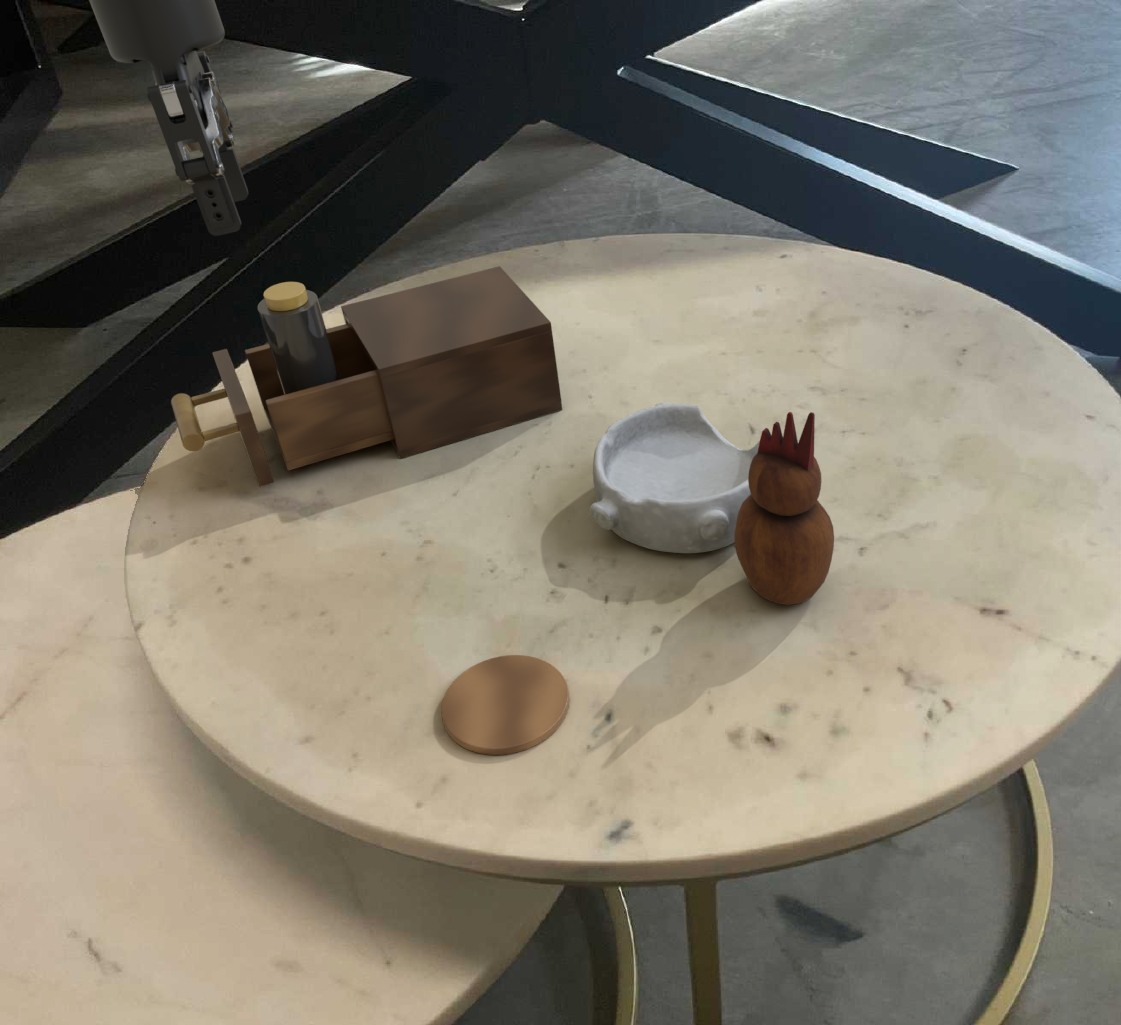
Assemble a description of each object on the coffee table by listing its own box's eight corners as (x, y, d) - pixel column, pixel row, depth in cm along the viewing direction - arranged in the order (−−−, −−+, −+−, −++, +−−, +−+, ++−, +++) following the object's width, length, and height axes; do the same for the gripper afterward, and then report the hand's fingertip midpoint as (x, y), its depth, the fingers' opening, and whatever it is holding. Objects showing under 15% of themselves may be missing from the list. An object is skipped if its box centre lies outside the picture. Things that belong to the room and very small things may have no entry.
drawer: (204, 504, 89) (176, 431, 85) (184, 434, 97) (158, 365, 93) (422, 438, 95) (406, 368, 91) (387, 378, 103) (370, 311, 99)
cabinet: (400, 459, 95) (378, 369, 89) (362, 391, 104) (340, 306, 98) (562, 410, 99) (551, 322, 94) (513, 349, 108) (500, 265, 103)
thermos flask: (299, 440, 94) (259, 309, 87) (288, 414, 97) (249, 286, 90) (354, 424, 95) (319, 294, 88) (341, 399, 99) (307, 272, 91)
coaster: (466, 774, 68) (464, 767, 67) (427, 688, 73) (425, 682, 73) (589, 724, 70) (588, 717, 70) (542, 645, 76) (541, 638, 76)
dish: (647, 437, 95) (643, 386, 92) (801, 476, 90) (802, 423, 87) (555, 537, 85) (546, 483, 82) (721, 587, 80) (719, 531, 77)
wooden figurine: (847, 595, 79) (857, 412, 69) (781, 630, 76) (782, 445, 67) (786, 546, 83) (788, 368, 74) (722, 578, 81) (715, 397, 72)
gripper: (103, -24, 80) (189, 202, 89) (63, -2, 68) (167, 256, 77) (211, -44, 81) (286, 181, 90) (191, -26, 69) (279, 232, 78)
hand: (231, 216), depth 83 cm, fingers open, 8 cm apart
